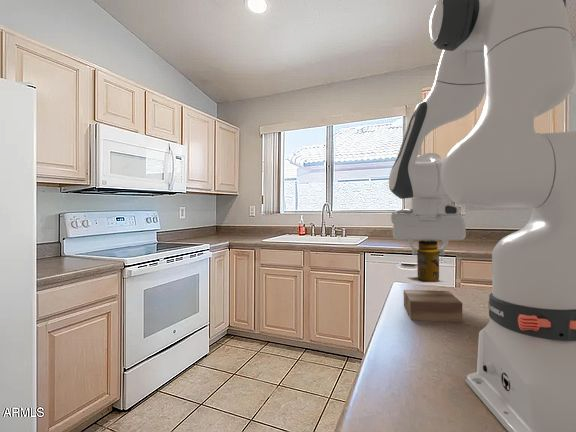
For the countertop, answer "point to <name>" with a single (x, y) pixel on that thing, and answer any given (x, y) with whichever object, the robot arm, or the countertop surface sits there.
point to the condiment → (427, 262)
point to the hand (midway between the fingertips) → (428, 254)
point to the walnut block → (432, 306)
